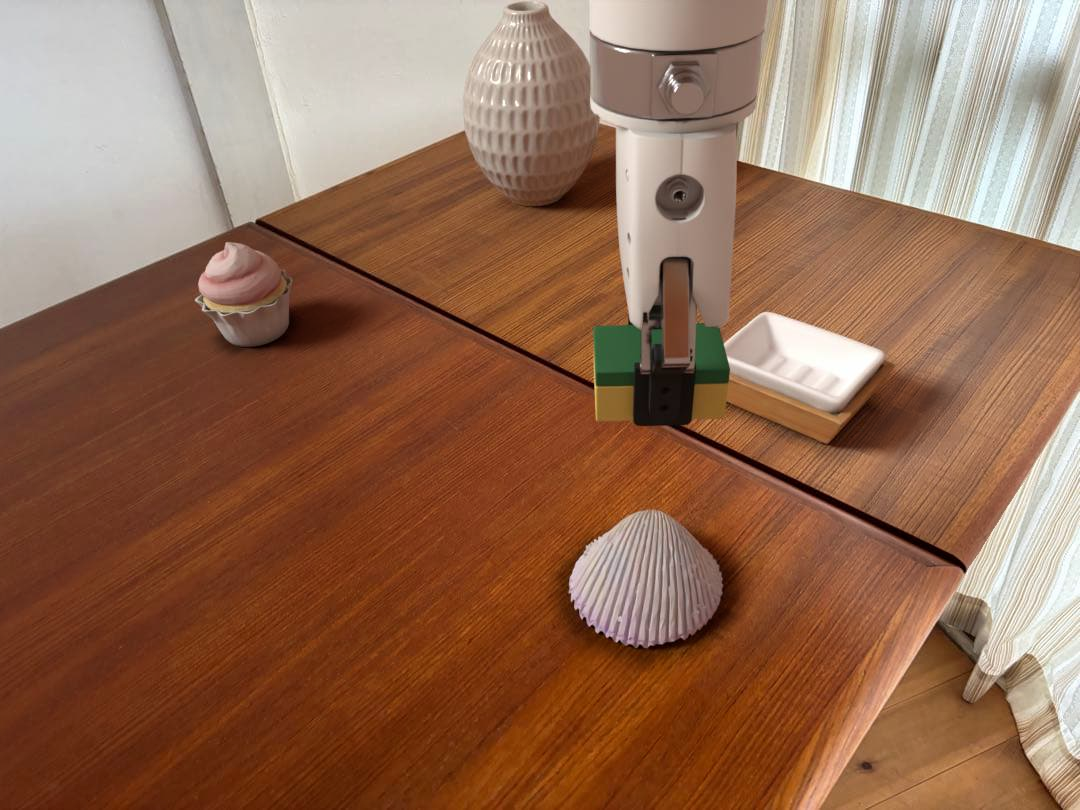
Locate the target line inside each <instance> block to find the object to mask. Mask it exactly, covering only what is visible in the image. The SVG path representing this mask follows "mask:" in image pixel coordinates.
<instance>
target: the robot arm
mask: <svg viewBox="0 0 1080 810" xmlns="http://www.w3.org/2000/svg"><path fill="white" fill-rule="evenodd" d="M588 1H589V8H588V9H589V11H588V13H589V64H590V107H591V110H592V111H593V113H594V114H595V115H597V116H598V117H599V118H600V120H601V121H604V122H606V123H608V124H611V125H613V126H615V191H616V192H615V193H616V196H615V199H616V219H617V234H618V247H619V257H620V264H621V265H620V266H621V272H622V278H623V285H624V292H625V293H624V294H625V297H626V299H625V300H626V304H627V310H628V311H627V313H628V314H627V325H634V326H635V327H637V328H638V329H640V362H638V363H634V393H633V421H632V422H633V424H634V425H635V426H637V427H665V426H666V427H667V426H669V427H670V426H688V425H690V424H691V422H692V420H693V419H692V411H693V399H694V387H695V375H696V363H695V343H696V323H698V322H697V313H698V312H699V315H700V317H701V319H702V323H704V324H705V326H706V327H714V326H715V328H720V329H721V328H722V327H724V326H725V325H726V323H727V322H728V321H729V319H730V308H731V307H730V306H731V305H730V304H731V289H732V273H733V256H734V241H735V240H734V239H735V220H736V205H737V181H738V180H737V178H738V177H737V175H738V174H737V173H738V171H737V168H738V167H737V165H738V164H737V163H738V159H737V157H738V156H737V155H738V153H737V148H738V147H737V146H738V145H737V123H739V122H742V121H743V120H745V119H747V118H749V117H750V116H751V115H752V114H753V113H754V111H755V109H756V108H757V101H758V100H757V99H758V92H759V83H760V77H761V76H760V74H761V67H762V57H763V51H764V50H763V49H764V39H765V33H766V32H765V31H766V30H765V27H766V20H767V13H768V11H767V10H768V3H769V0H588ZM656 329H661V331H662V337H661V343H660V344H654V346H653V348H652V330H656Z"/></svg>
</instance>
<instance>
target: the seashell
mask: <svg viewBox="0 0 1080 810" xmlns="http://www.w3.org/2000/svg"><path fill="white" fill-rule="evenodd" d="M723 587H724V584H723V577H722V571H720V564H718V562H717V559H715V558H714V555H713V553H710V551H709V549H708V548H705V547H703V545H702V544H700V542H699V541H698V540H697V539H696V537H695V536H693V534H692V533H690V531H689V530H688V529H687V528H686V527H685V526H683V525H682V524H681V523H680V522H679V521H678V520H676V519H675V518H674V517H672V516H671V515H669V514H667V513H664V511H662V510H657V509H642V510H638V511H637V512H634V513H630V514H629V515H628V516H626V517H624V518H623V519H621V520H620V521H619V522H618V523H616V525H614V526H613V527H612V528H611V529H610V530H609V531H607V532H605V533H603V534H602V536H600V535H599V536H598V538H597V539H596V538H595V539H593V541H591V542H590V543H588V545H587V544H586V545H585V550H583V554H582V555H580V557H579V558H578V559H577V561H576V562H575V564H574V568H573V569H572V572H571V575H570V577H569V581H568V588H569V589H568V595H570V603H573V602H574V604H573V605H574V606H573V608H574V611H575V612H576V611H577V610H579V616H580V619H581V620H583V619H584V618H585V620H586V624H587V626H588V627H591V626H594V631H595V633H596V634H599V633H600V632H603V634H604V636H605V638H606V639H607V638H609V637H610V638H611V639H612V640H613V642H615V643H618V642H619V641H620V643H622V644H623V646H629V645H632V646H633V647H634V649H635V648H638V647H639V646H640V645H641V646H642V647H643V648H644V649H649V647H651V646H652V647H653V646H656V645H664V644H665V643H672V642H675V641H677V640H679V639H682V640H683V641H685V640H687V639H688V637H689V636H690V635H691V636H693V635H695V634H696V632H697V630H699V631H701V629H702V628H703V626H706V625H707V623H708V622H709V620H712V617H713V615H714V614H715V613H716V611H717V610H718V607H719V606H720V602H721V596H722V595H723V591H722V590H723Z"/></svg>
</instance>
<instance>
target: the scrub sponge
mask: <svg viewBox="0 0 1080 810" xmlns="http://www.w3.org/2000/svg"><path fill="white" fill-rule="evenodd" d="M592 331H593V332H592V333H593V383H594V384H593V385H594V406H595V407H594V409H595V421H596V422H634V421H633V393H634V363H638V362H640V329H638V328H637V327H635V326H634V325H628V324H617V325H616V324H613V325H612V324H611V325H607V324H606V325H593V328H592ZM661 337H662V331H661V329H656V330H652V348H653V346H654V344H660V343H661ZM724 343H725V342H724V340H723V336H722V333H721V328H715V326H714V327H706V326H705V324H704V322H697V323H696V343H695V363H696V375H695V387H694V399H693V411H692V420H724V419H725V418H726V408H727V403H728V402H727V393H728V382H729V375H730V367H729V363H728V359H727V355H726V351H725V347H724Z"/></svg>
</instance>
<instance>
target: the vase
mask: <svg viewBox="0 0 1080 810" xmlns="http://www.w3.org/2000/svg"><path fill="white" fill-rule="evenodd" d="M462 116H463V124H464V125H463V126H464V132H465V135H466V139H467V143H468V147H469V150H470V152H471V154H472V156H473V158H474V161H475V164H476V165H477V166H478V167H479V168H480V170H481V172H482V173H483V175H484V176H485V178H486V179H487V180H488V181H489V182H490V183H491V185H493V187H494V188H495V189H496V190H497V191H498V192H499V193H500V194H502V195H503V196H504V197H505V198H507V199H508V200H509V201H511V202H512V203H513V204H516V205H519V206H523V207H524V206H525V207H543V206H548V205H551V204H553V203H556V202H559V200H561V199H562V198H563V197H564V196H565V195H566V193H568V192H569V191H570V190H571V188H573V187H574V186H575V184H576V183H577V182H578V180H579V179H580V177H581V176H582V175H583V173H584V172H585V169H586V167H587V165H588V164H589V162H590V160H591V159H592V156H593V154H594V151H595V148H596V144H597V140H598V134H599V129H600V121H601V119H600V118H599V117H598V116H597V115H595V114H594V113H593V111H592V110H591V107H590V61H588V58H587V57H586V54H585V53H584V51H583V50H582V48H581V47H580V46H579V44H578V43H577V41H576V40H575V39H574V38H573V37H571V35H570V34H569V33H568V32H567V31H566V30H565V29H564V28H563V27H562V26H561V25H560V24H559V23H558V22H557V21H556V20H555V19H554V18H553V17H552V15H551V13H550V9H549V6H548V4H546V3H545V2H542V1H533V0H525V1H517V2H513V3H510V4H507V5H506V6H504V7H503V10H502V17H501V19H500V21H499V22H498V24H497V25H496V26H495V27H494V28H493V30H492V31H491V32H490V33H489V35H488V36H487V37H486V38H485V40H484V41H483V43H482V44H481V45H480V46H479V48H478V50H477V52H476V53H475V55H474V57H473V59H472V61H471V64H470V66H469V68H468V72H467V75H466V79H465V83H464V89H463V97H462Z"/></svg>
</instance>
